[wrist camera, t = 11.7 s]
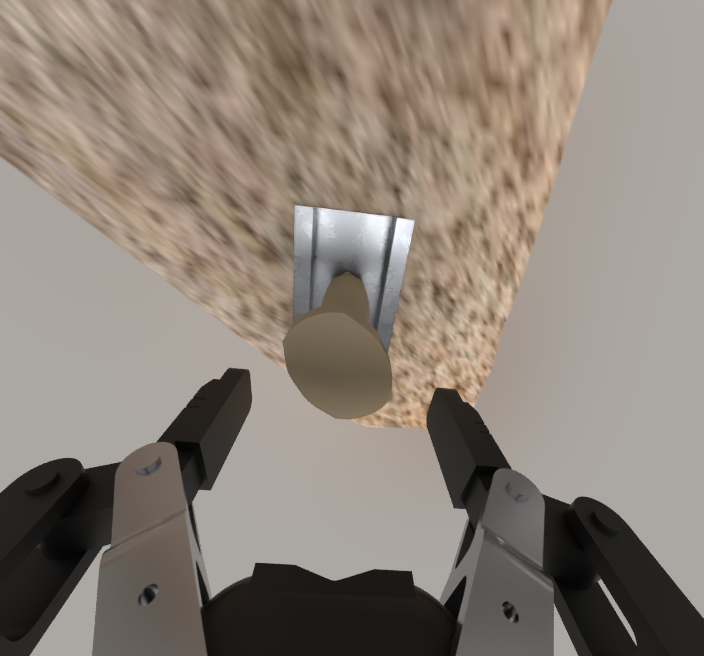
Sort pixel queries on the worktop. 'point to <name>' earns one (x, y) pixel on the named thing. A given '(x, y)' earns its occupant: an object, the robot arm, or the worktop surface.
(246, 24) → the worktop surface
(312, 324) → the handle
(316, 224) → the floor track
